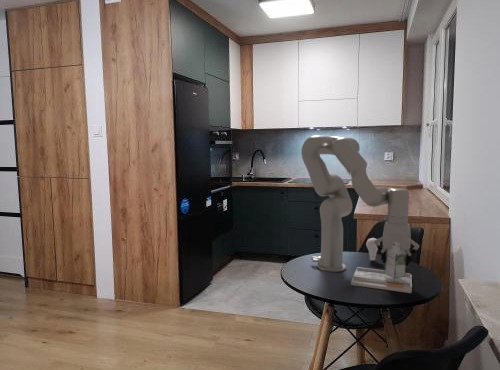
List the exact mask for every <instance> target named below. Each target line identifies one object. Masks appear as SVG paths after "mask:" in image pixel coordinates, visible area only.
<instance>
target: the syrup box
mask: <svg viewBox="0 0 500 370" xmlns="http://www.w3.org/2000/svg"><path fill="white" fill-rule="evenodd" d="M406 257H407V252H406V251H405V250H400V243H398V242H393V247H392V249H386V250H385V263H384V274H386V275H388V276H390V277H392V278H400V277H405V273H407V272H406V271H407V270H406V269H407V265H406Z"/></svg>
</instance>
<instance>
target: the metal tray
mask: <svg viewBox="0 0 500 370" xmlns="http://www.w3.org/2000/svg"><path fill="white" fill-rule="evenodd" d="M356 269H357V271H356V270H355V271H356V273H355V272H354V274H355V276H354V275H353V276H352V278H353V280H359V281H366V282H374V283H381V284H386V283H392V284H400V285H403V286H404V287H410V275H411V273H408V272H406V273H405V277H400V278H392V277H390V276H388V275H386V274H384V270H383V269H377V268H370V267H369V268H368V267H360V266H357V267H356Z"/></svg>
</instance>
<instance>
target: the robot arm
mask: <svg viewBox="0 0 500 370" xmlns="http://www.w3.org/2000/svg"><path fill="white" fill-rule="evenodd" d="M359 151H360V144H359V142H358V141H357V140H356V139H355V138H352V137H342V136H334V135H333V136H331V135H312V136H310V137H308V138H307V139H305V140H304V142H303V144H302V146H301V153H300V154H301V159H302V161H303V164H304V166H305V168H306V170H307V173H308V176H309V179H310V181H311V183H312V186H313V189H314V190H315V193H316V194H317V195H318V196H320V197H327V196H328V197H329V198H326V199H324V200H323V201H322V202H321V204H320V206H319V214H320V215H319V216H320V223H321V224H320V225H321V231H320V233H321V234H320V235H321V237H320V238H321V241H320V244H321V245H320V256H316V255H314V256H313V255H312V256H311V261H312V262H315V263H317V264H316V267H317V268H318V269H319V270H321V271H324V272H330V273H338V272H343V271H345V270H347V266H346V264H345V263H343V258H344V257H343V252H344V225H343V220H342V218H344V217H347V216H349V215H350V214H351V213H352V212H353V211H352V210H353V202H352V199H351V196H350V194H349V192H348V189H347V187H346V184H345V181H343V179H342V177H340V176H339V175H337V174H332V173H330V172H329V170H328V168H327V165H326V162H325V161H324V160H323V158H322V157H321V155H329V156H330V155H332V156H335V157H336V159H337V160H338V161H339V163H340V164H341V165H342V167H343V168H344V169H345V170H346V172H347V173H348V175H349V177H350V181H351V185H352V187H353V189H354V191H355V193H356V194H357V195H358V196H359V198H360V199H361V200H362V202H364V204H366V205H367V206H369V207H373V208H375V207H379V206H384V205H387V215H384V216H383V218H382V219H383V220H385V223H384V226H383V232H382V236H381V237H379V238H376V239H377V240H375V241H374V243H375V245H376V246H377V248H378V250H379V251H380V253H381V259H380V260H381V261H382V263H383V264H385V252H386V249H392V247H393V242H398V243H400V250H405V251H406V252H407V257H406V267H407V266H409V264H411V256H412V255H413V254H415V253H416V251H417V250H418V249H419V248H420V244H418V243H417V242H415V241H414V240H413V239H412V238H411V236H412V235H411V232H412V231H411V226H410V223H408V222H409V221H408V220H409V202H410V200H409V199H410V192H409V190H408V189H407V188H401V187H400V188H398V187H395V188H393V187H389V186H375V185H374V184H373V182H372V181H371V180H370V178H369V176H368V173H367V167H368V162H367V161H366V159H365V158H363V156H362V155H361V153H360V152H359ZM381 242H382V246H381V244H380V245H379V243H381ZM411 245H412V246H414V247H413V248H412V249H410V248H411Z"/></svg>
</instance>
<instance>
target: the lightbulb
mask: <svg viewBox="0 0 500 370" xmlns="http://www.w3.org/2000/svg"><path fill="white" fill-rule="evenodd" d="M377 239H378V238H375V237H371V238H368V239H367V240H366V243H365V245H366V248H367V250H368V255H369V260H370V261H372V262H374V261H375V260H376V256H377V253H378V250H379V249H378V248H377V246H376V245H375V243H374V241H375V240H377ZM380 243H381V242H379V245H380V246H381V244H380Z"/></svg>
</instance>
